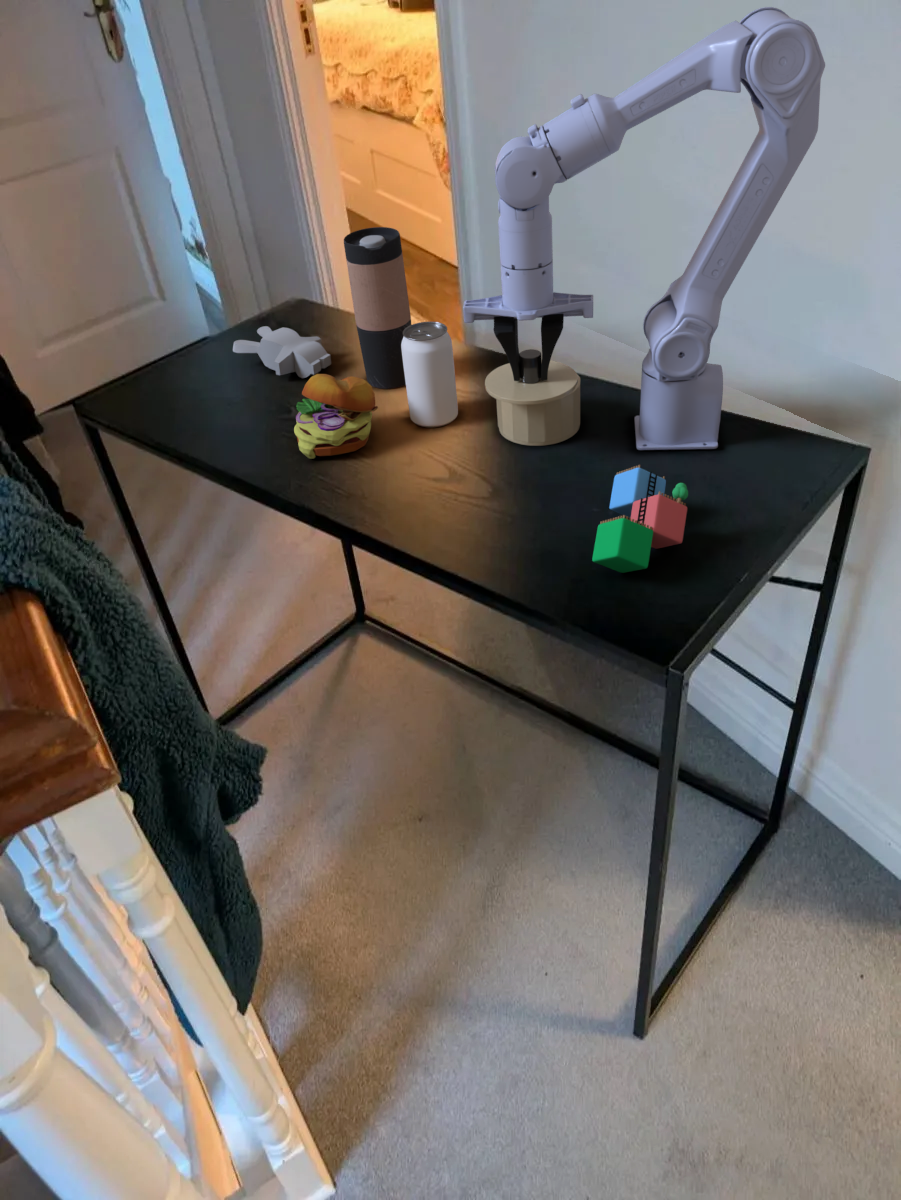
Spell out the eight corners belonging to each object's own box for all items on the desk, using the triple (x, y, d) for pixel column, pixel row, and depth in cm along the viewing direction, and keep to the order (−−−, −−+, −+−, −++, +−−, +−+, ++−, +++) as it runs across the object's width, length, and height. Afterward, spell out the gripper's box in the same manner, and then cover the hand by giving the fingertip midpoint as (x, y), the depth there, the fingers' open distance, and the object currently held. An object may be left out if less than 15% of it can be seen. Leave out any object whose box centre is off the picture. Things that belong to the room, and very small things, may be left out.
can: (453, 429, 116) (444, 341, 109) (405, 428, 118) (393, 341, 110) (463, 405, 121) (455, 319, 113) (416, 405, 122) (406, 319, 115)
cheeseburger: (276, 448, 116) (274, 371, 111) (339, 433, 123) (340, 360, 118) (327, 470, 110) (327, 390, 106) (390, 453, 117) (393, 377, 113)
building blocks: (625, 589, 95) (642, 485, 98) (679, 580, 88) (696, 468, 91) (566, 567, 92) (586, 459, 94) (618, 555, 85) (638, 439, 87)
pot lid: (567, 362, 112) (566, 329, 109) (586, 402, 103) (587, 367, 100) (479, 374, 111) (477, 341, 109) (492, 414, 103) (490, 380, 100)
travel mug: (387, 362, 134) (367, 224, 121) (428, 372, 130) (412, 230, 117) (354, 383, 129) (330, 241, 117) (395, 394, 126) (375, 248, 113)
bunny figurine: (298, 362, 127) (223, 333, 133) (302, 394, 130) (228, 365, 137) (341, 337, 133) (267, 310, 139) (344, 368, 136) (271, 341, 142)
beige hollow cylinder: (580, 405, 118) (580, 362, 114) (579, 445, 110) (579, 400, 106) (502, 407, 120) (499, 365, 116) (495, 446, 112) (492, 402, 108)
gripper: (456, 277, 96) (466, 393, 104) (594, 270, 94) (592, 390, 102) (463, 254, 101) (472, 367, 110) (593, 248, 99) (592, 363, 108)
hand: (530, 376), depth 106 cm, fingers closed on pot lid, 2 cm apart
